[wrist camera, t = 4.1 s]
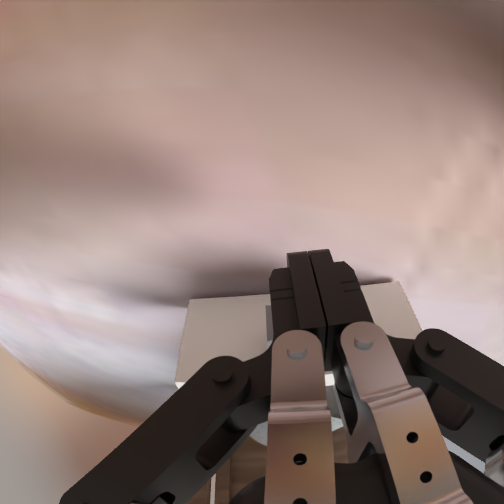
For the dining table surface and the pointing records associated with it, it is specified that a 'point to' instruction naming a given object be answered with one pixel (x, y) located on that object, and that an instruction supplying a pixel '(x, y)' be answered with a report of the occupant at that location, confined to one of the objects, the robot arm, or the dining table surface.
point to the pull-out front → (271, 326)
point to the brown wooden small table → (252, 469)
